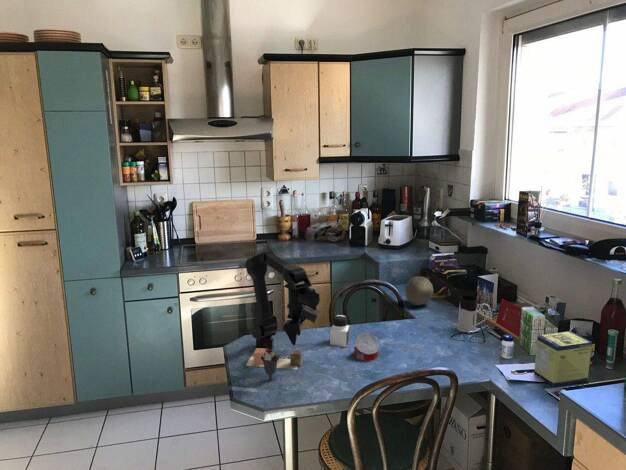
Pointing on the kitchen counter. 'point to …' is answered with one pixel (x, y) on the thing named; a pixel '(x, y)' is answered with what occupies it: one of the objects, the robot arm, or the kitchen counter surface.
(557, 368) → the protein box
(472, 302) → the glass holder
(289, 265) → the robot arm
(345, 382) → the kitchen counter surface
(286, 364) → the strip
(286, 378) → the kitchen counter surface
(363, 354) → the canned food
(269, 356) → the sundae
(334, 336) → the medicine bottle
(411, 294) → the cantaloupe
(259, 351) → the block
